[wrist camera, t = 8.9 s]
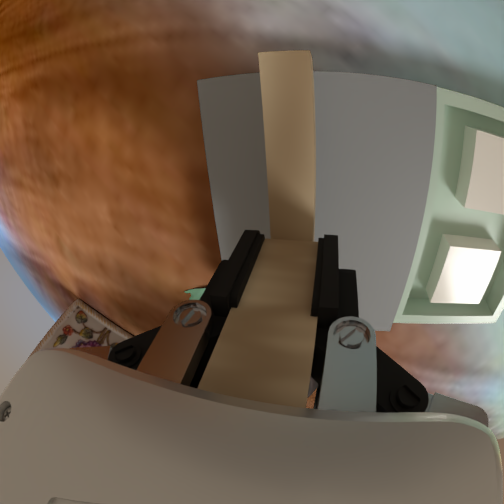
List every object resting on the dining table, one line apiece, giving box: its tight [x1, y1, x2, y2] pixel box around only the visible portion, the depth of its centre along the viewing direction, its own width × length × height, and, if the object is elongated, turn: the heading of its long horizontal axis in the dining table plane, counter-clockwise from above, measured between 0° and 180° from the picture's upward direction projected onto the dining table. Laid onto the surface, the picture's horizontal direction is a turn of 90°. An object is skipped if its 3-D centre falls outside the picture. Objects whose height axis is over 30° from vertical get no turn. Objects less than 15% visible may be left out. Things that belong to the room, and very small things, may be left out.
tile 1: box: [455, 125, 504, 215], centre depth 11 cm, size 4×4×2 cm
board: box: [197, 71, 437, 331], centre depth 15 cm, size 11×15×3 cm
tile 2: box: [426, 234, 502, 304], centre depth 15 cm, size 4×4×2 cm
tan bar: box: [197, 50, 318, 408], centre depth 9 cm, size 2×16×9 cm, turn 4°
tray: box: [393, 87, 504, 324], centre depth 13 cm, size 10×15×2 cm, turn 5°
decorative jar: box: [26, 299, 134, 361], centre depth 26 cm, size 12×12×18 cm
